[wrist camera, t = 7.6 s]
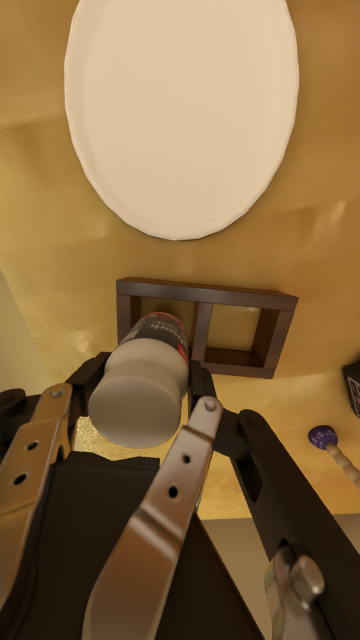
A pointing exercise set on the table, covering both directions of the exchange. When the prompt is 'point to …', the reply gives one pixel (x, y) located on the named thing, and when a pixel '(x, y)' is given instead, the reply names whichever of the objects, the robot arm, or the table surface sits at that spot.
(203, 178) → the plate
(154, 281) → the rack
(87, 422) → the table surface
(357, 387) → the camera
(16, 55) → the table surface
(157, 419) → the pill bottle
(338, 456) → the toy lamp
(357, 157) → the table surface
